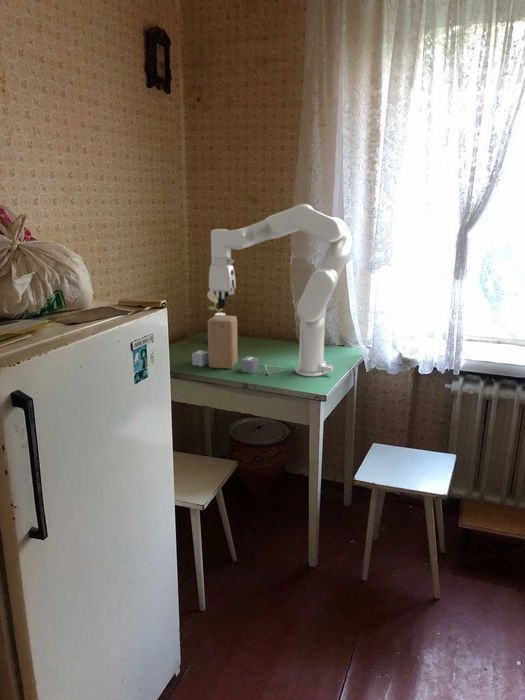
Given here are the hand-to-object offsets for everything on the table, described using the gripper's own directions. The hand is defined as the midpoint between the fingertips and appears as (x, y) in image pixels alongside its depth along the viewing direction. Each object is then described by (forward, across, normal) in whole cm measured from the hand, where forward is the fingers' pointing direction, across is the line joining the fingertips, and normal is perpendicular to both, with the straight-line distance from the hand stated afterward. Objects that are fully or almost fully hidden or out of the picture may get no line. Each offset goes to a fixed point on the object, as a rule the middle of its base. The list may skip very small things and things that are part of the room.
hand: (222, 308), depth 207 cm
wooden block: (+24, 0, 0) cm, 24 cm away
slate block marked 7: (+24, +9, +3) cm, 26 cm away
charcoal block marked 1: (+24, -13, +1) cm, 27 cm away
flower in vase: (+24, +20, -29) cm, 43 cm away
